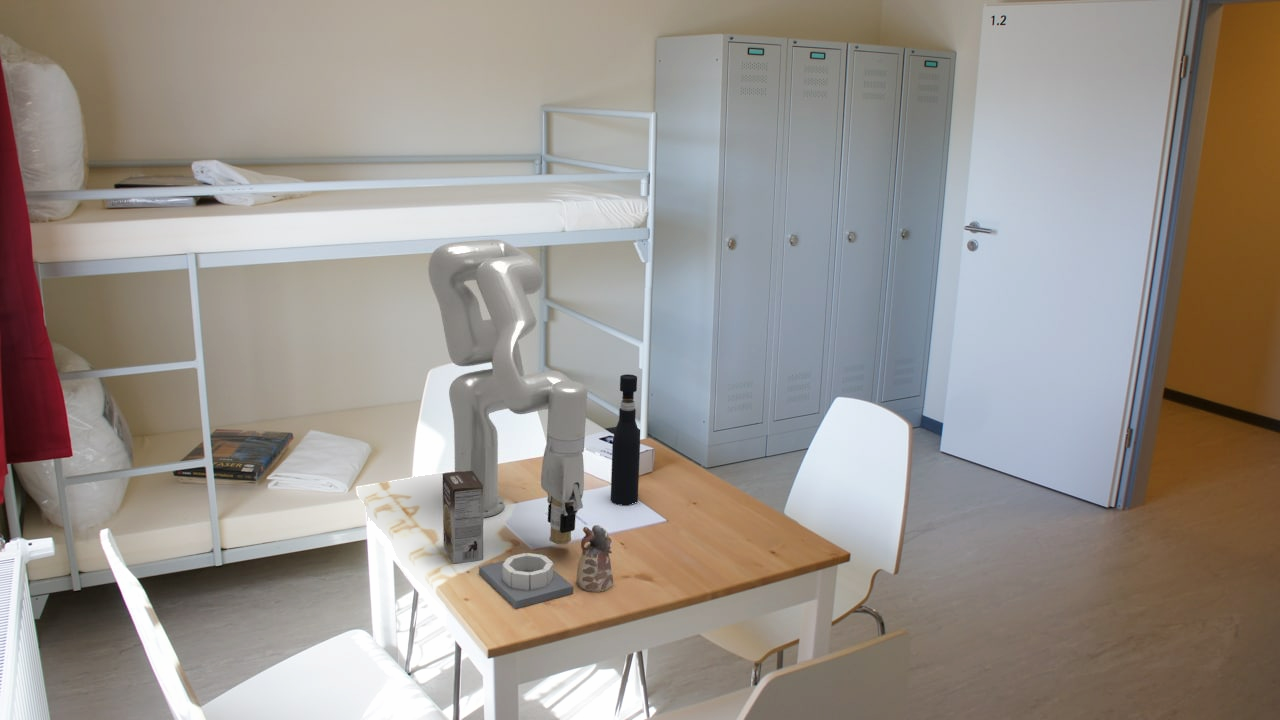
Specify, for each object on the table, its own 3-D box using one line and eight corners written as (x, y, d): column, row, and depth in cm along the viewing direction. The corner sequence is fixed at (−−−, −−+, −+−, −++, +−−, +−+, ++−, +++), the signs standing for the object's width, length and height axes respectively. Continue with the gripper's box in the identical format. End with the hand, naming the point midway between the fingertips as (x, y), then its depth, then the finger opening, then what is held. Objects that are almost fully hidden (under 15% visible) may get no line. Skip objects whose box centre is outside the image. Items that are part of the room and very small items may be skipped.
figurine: (616, 591, 191) (618, 532, 188) (579, 593, 190) (581, 534, 187) (609, 574, 198) (611, 517, 195) (574, 576, 196) (575, 519, 193)
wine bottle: (617, 507, 230) (622, 381, 223) (605, 497, 236) (609, 374, 228) (642, 503, 233) (647, 378, 226) (630, 493, 239) (634, 371, 231)
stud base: (479, 573, 196) (479, 552, 195) (533, 560, 202) (534, 539, 201) (515, 608, 183) (516, 586, 182) (573, 593, 189) (573, 571, 188)
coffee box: (442, 546, 207) (441, 472, 203) (472, 541, 210) (472, 469, 206) (452, 564, 199) (451, 488, 195) (484, 560, 202) (484, 484, 198)
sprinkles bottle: (575, 542, 206) (578, 482, 202) (555, 547, 203) (559, 486, 200) (564, 533, 209) (567, 474, 206) (545, 537, 207) (548, 477, 203)
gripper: (529, 431, 205) (525, 513, 210) (569, 460, 192) (565, 547, 197) (561, 426, 209) (557, 507, 214) (603, 454, 196) (597, 539, 201)
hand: (561, 525), depth 205 cm, fingers closed on sprinkles bottle, 4 cm apart
